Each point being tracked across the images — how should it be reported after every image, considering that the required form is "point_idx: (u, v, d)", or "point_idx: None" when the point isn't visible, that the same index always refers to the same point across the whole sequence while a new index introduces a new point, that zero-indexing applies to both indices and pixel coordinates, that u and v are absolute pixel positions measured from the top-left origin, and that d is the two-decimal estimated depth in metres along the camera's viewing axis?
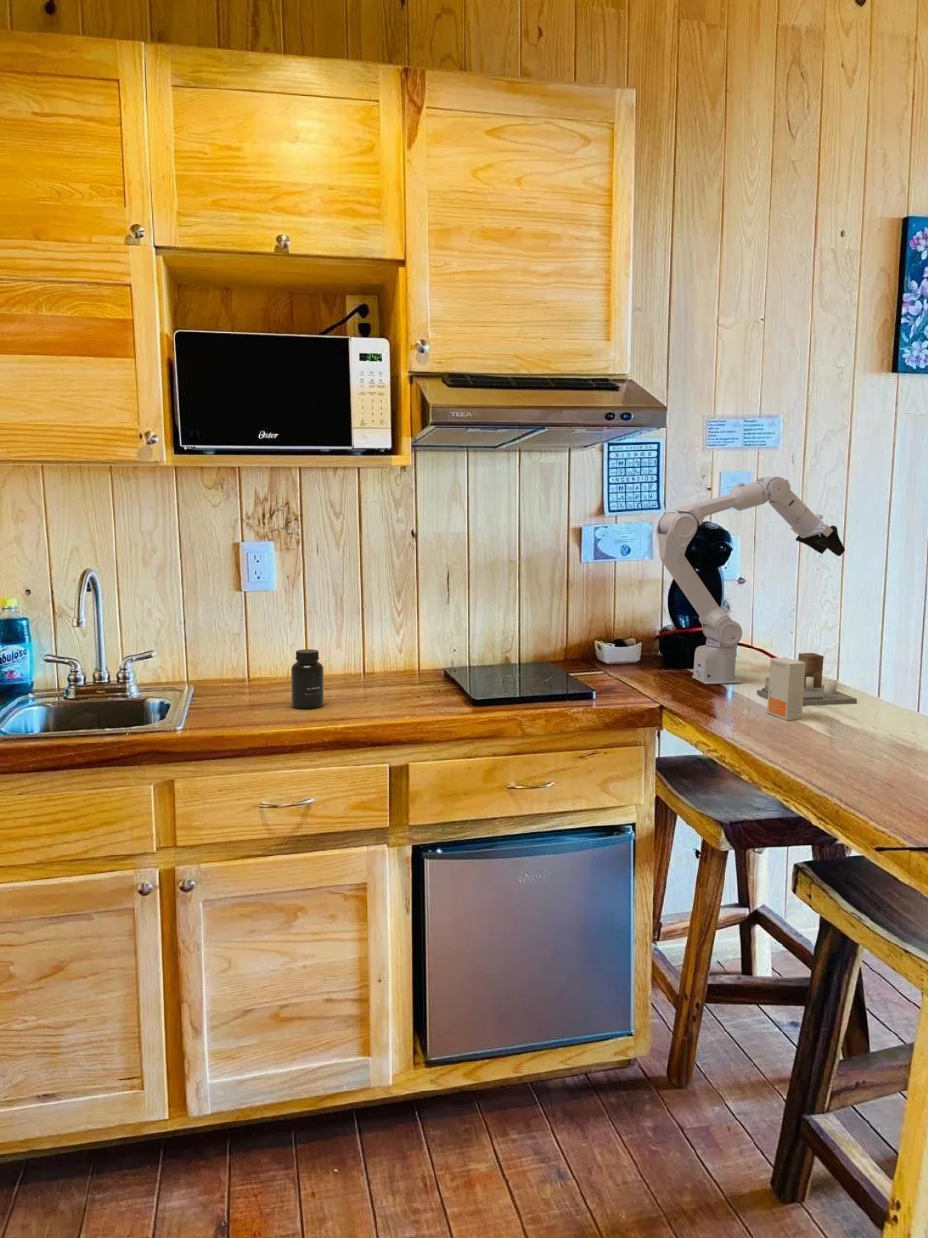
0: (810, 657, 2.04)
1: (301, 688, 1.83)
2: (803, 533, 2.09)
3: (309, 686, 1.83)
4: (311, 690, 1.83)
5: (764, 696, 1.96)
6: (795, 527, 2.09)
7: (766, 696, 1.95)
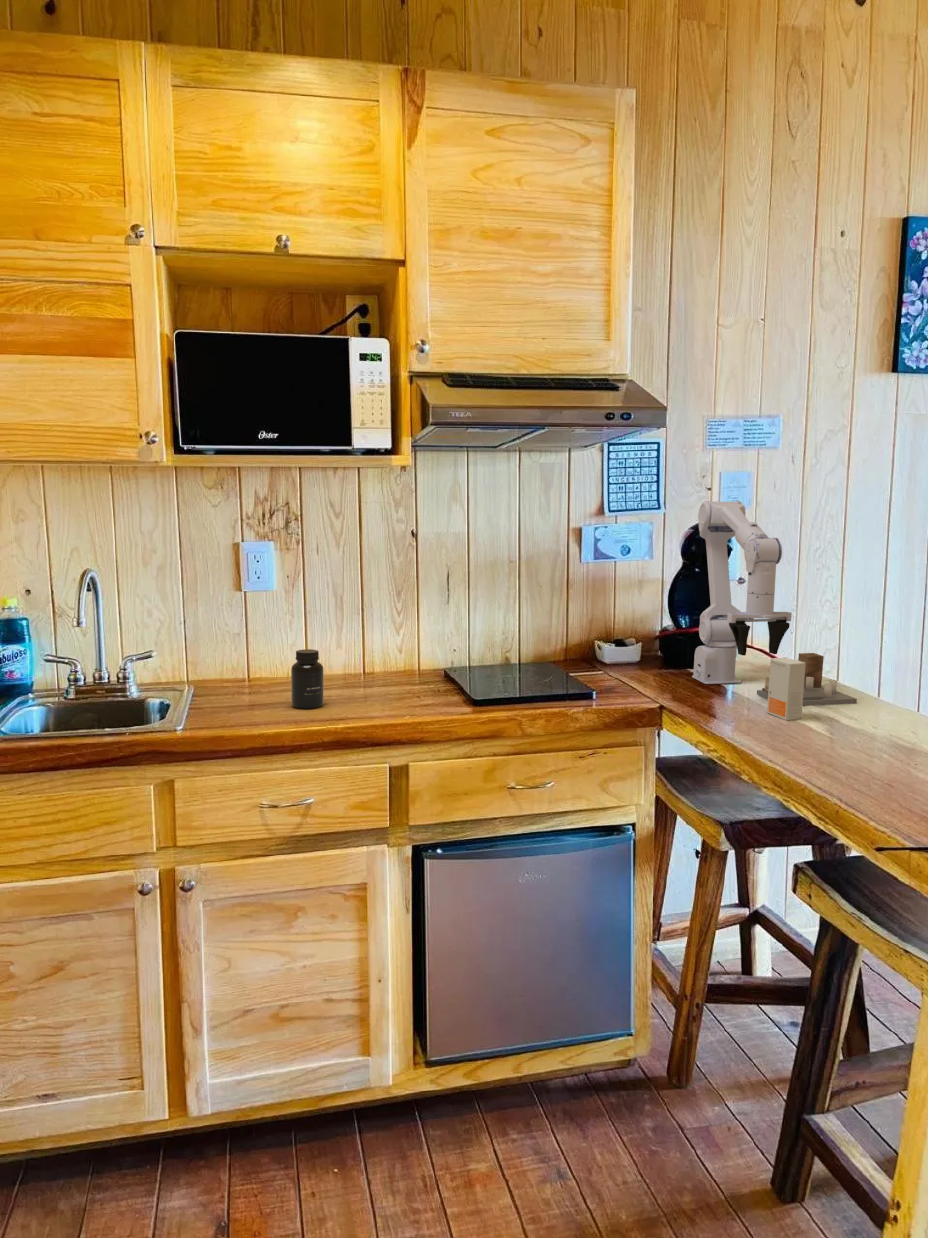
0: (810, 657, 2.04)
1: (301, 688, 1.83)
2: None
3: (309, 686, 1.83)
4: (311, 690, 1.83)
5: (764, 696, 1.96)
6: None
7: (766, 696, 1.95)
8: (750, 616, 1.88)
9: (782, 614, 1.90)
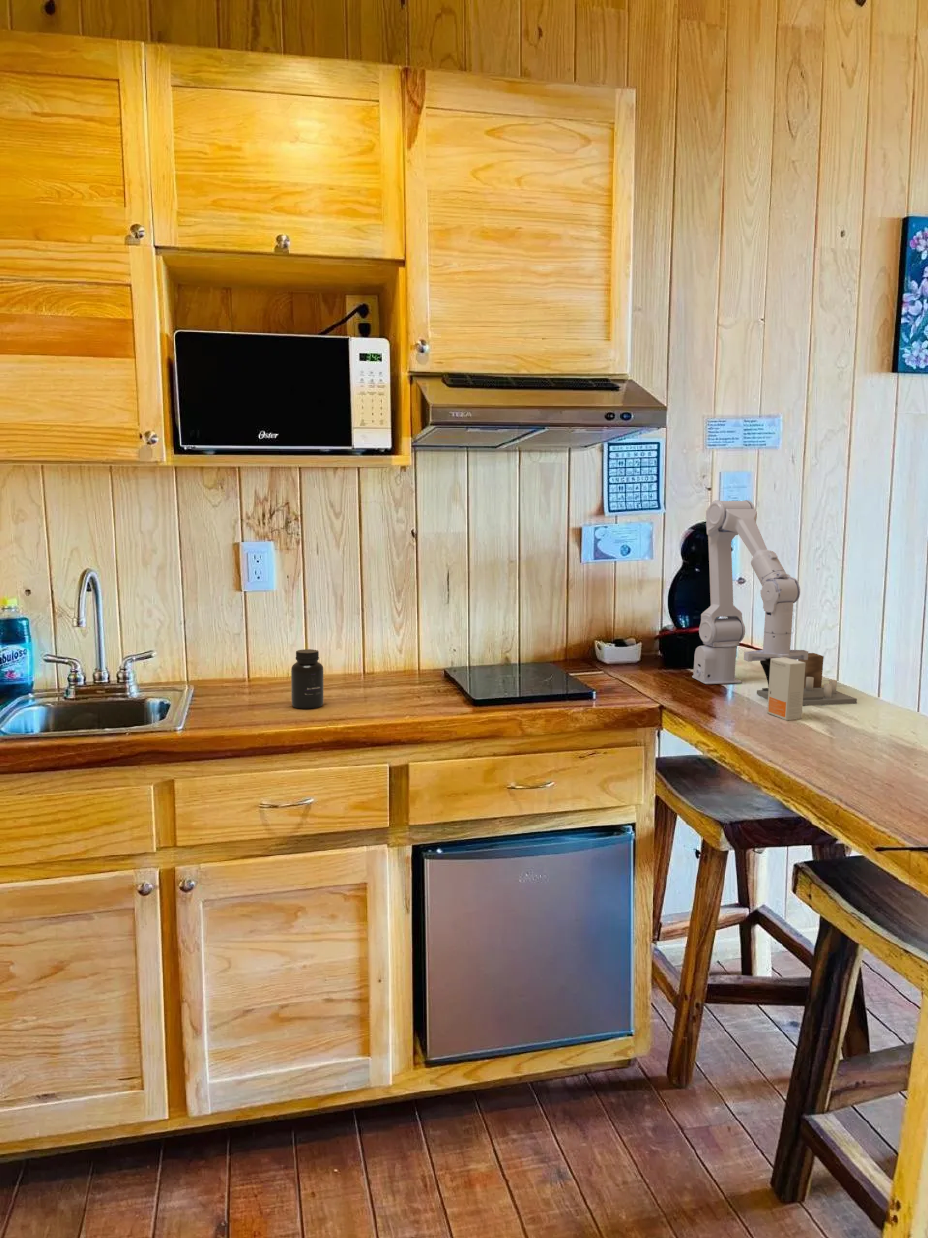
0: (810, 657, 2.04)
1: (301, 688, 1.83)
2: None
3: (309, 686, 1.83)
4: (311, 690, 1.83)
5: (764, 696, 1.96)
6: None
7: (766, 696, 1.95)
8: (766, 655, 1.90)
9: (799, 653, 1.92)
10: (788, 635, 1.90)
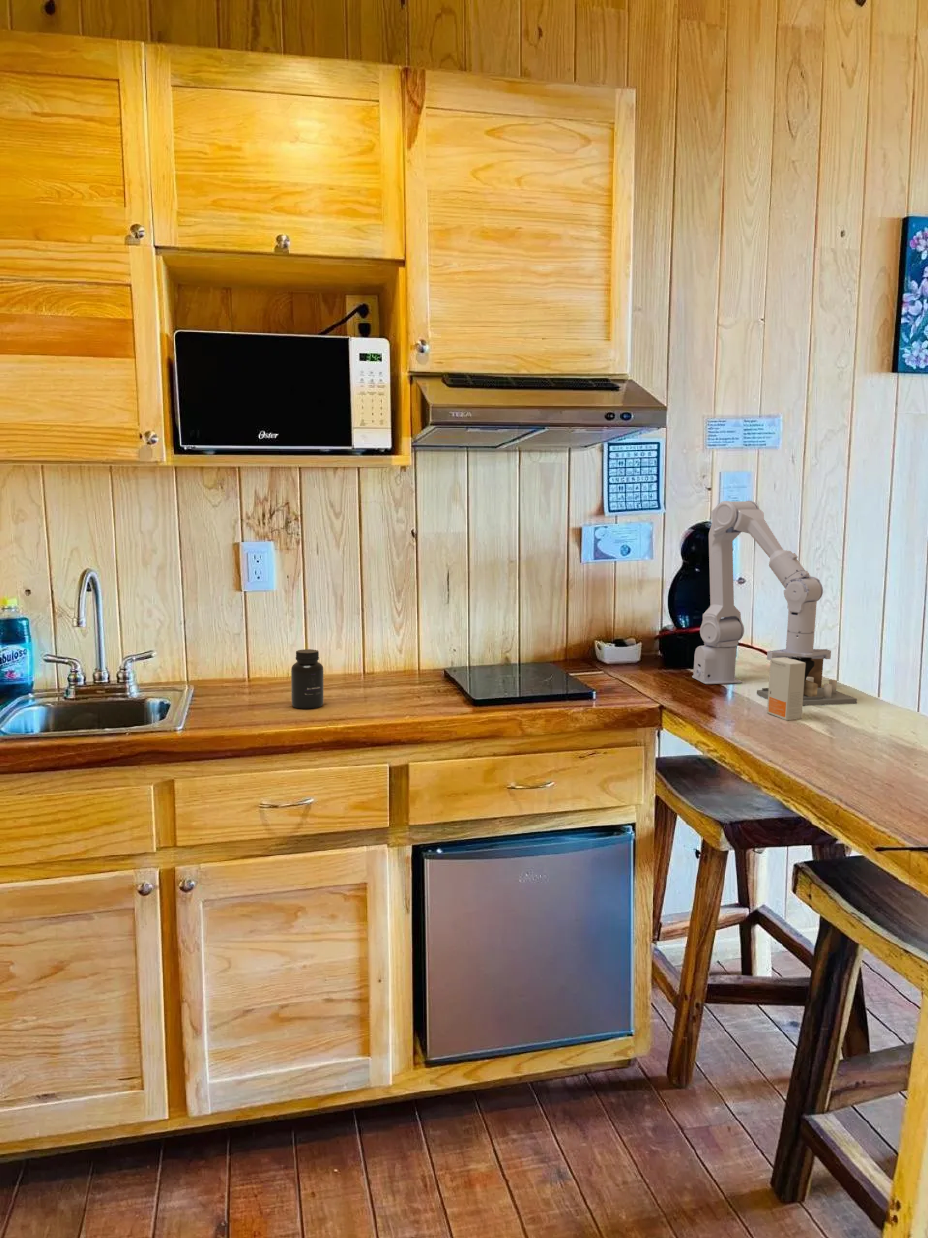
0: None
1: (301, 688, 1.83)
2: None
3: (309, 686, 1.83)
4: (311, 690, 1.83)
5: (764, 696, 1.96)
6: None
7: (766, 696, 1.95)
8: (790, 654, 1.91)
9: (822, 652, 1.93)
10: (811, 634, 1.91)
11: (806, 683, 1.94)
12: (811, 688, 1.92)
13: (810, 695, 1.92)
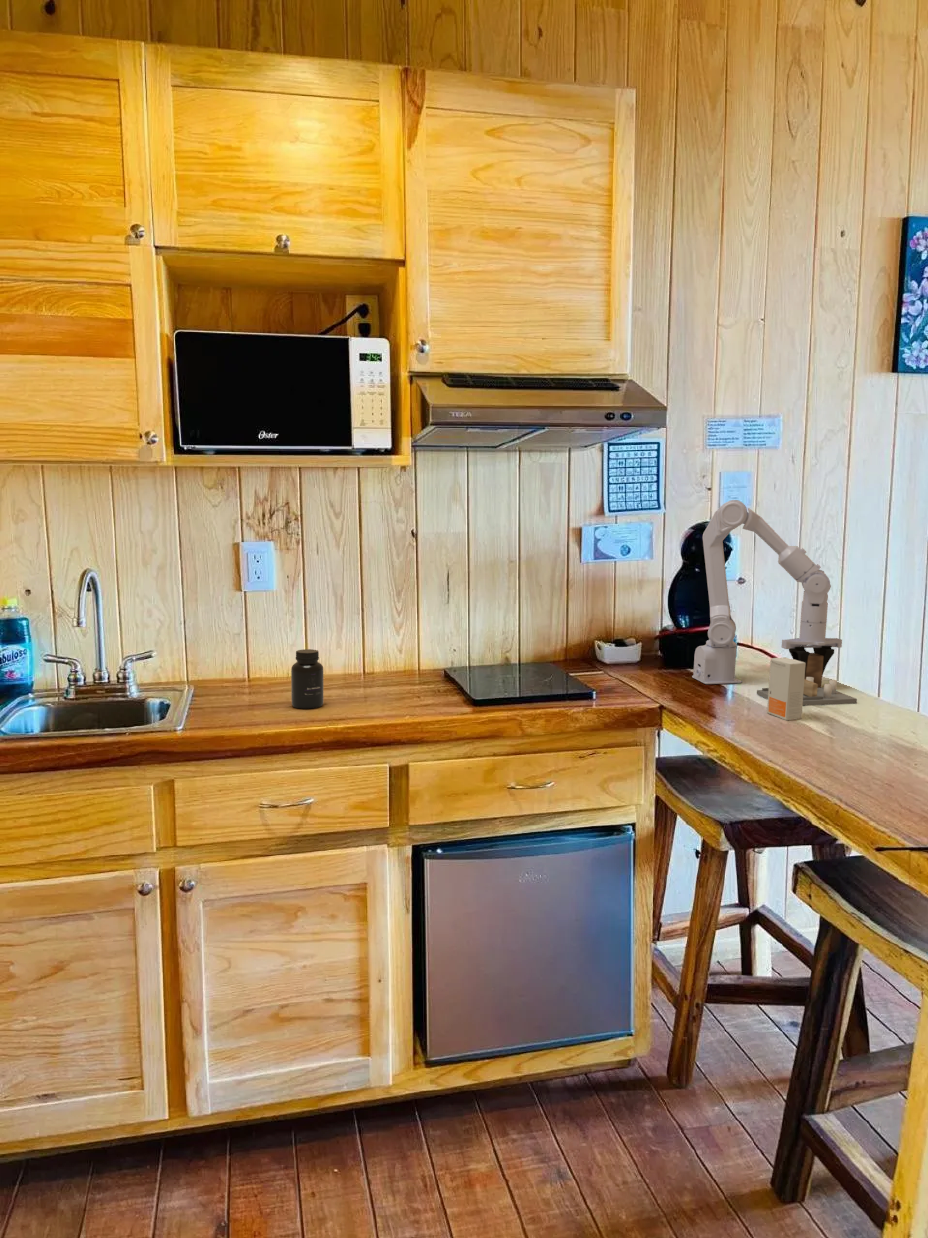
0: (810, 657, 2.04)
1: (301, 688, 1.83)
2: None
3: (309, 686, 1.83)
4: (311, 690, 1.83)
5: (764, 696, 1.96)
6: None
7: (766, 696, 1.95)
8: (803, 643, 2.03)
9: (833, 641, 2.04)
10: (824, 624, 2.02)
11: (806, 683, 1.94)
12: (811, 688, 1.92)
13: (810, 695, 1.92)
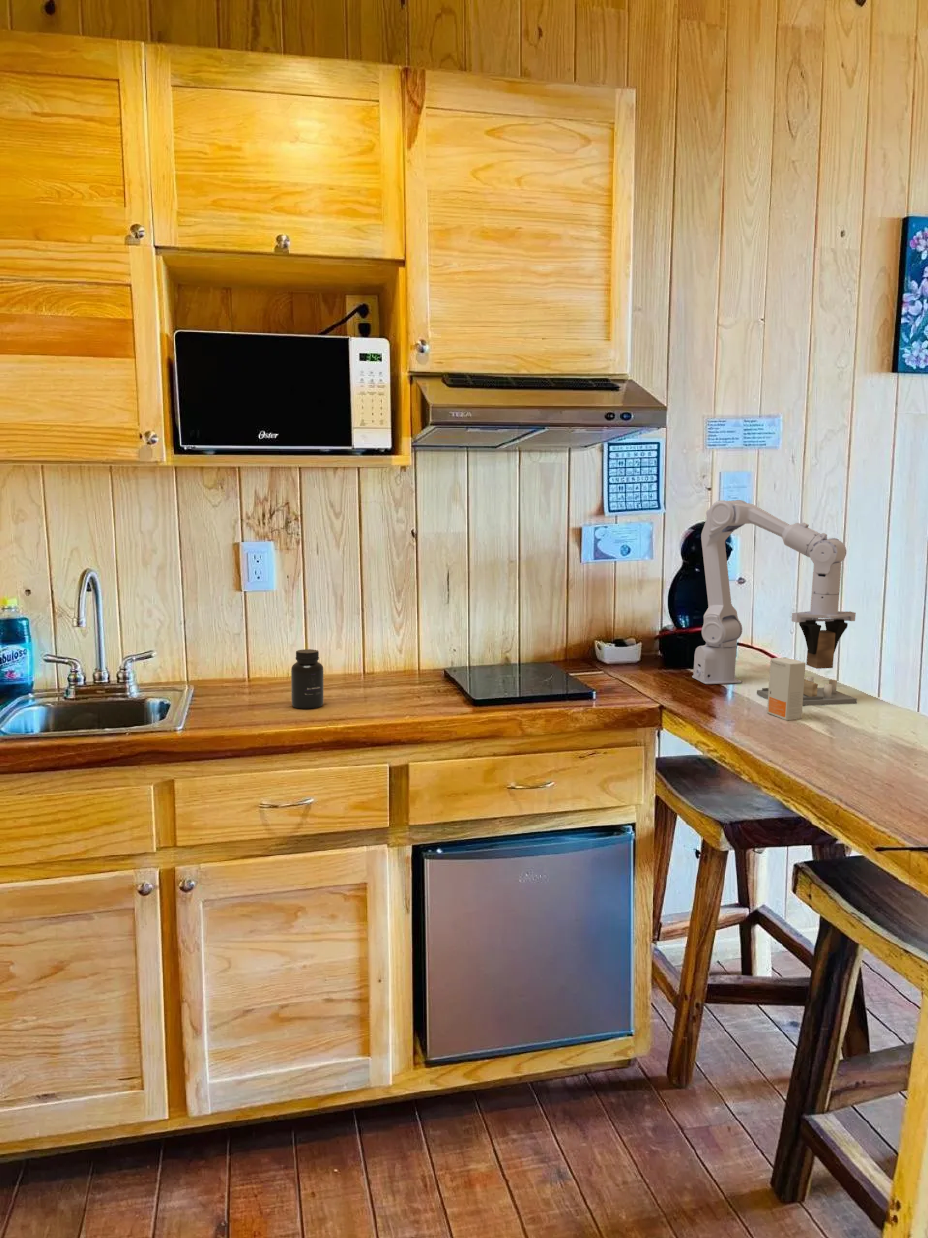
0: (821, 634, 1.92)
1: (301, 688, 1.83)
2: None
3: (309, 686, 1.83)
4: (311, 690, 1.83)
5: (764, 696, 1.96)
6: None
7: (766, 696, 1.95)
8: (815, 616, 1.91)
9: (846, 614, 1.93)
10: (836, 596, 1.91)
11: (806, 683, 1.94)
12: (811, 688, 1.92)
13: (810, 695, 1.92)
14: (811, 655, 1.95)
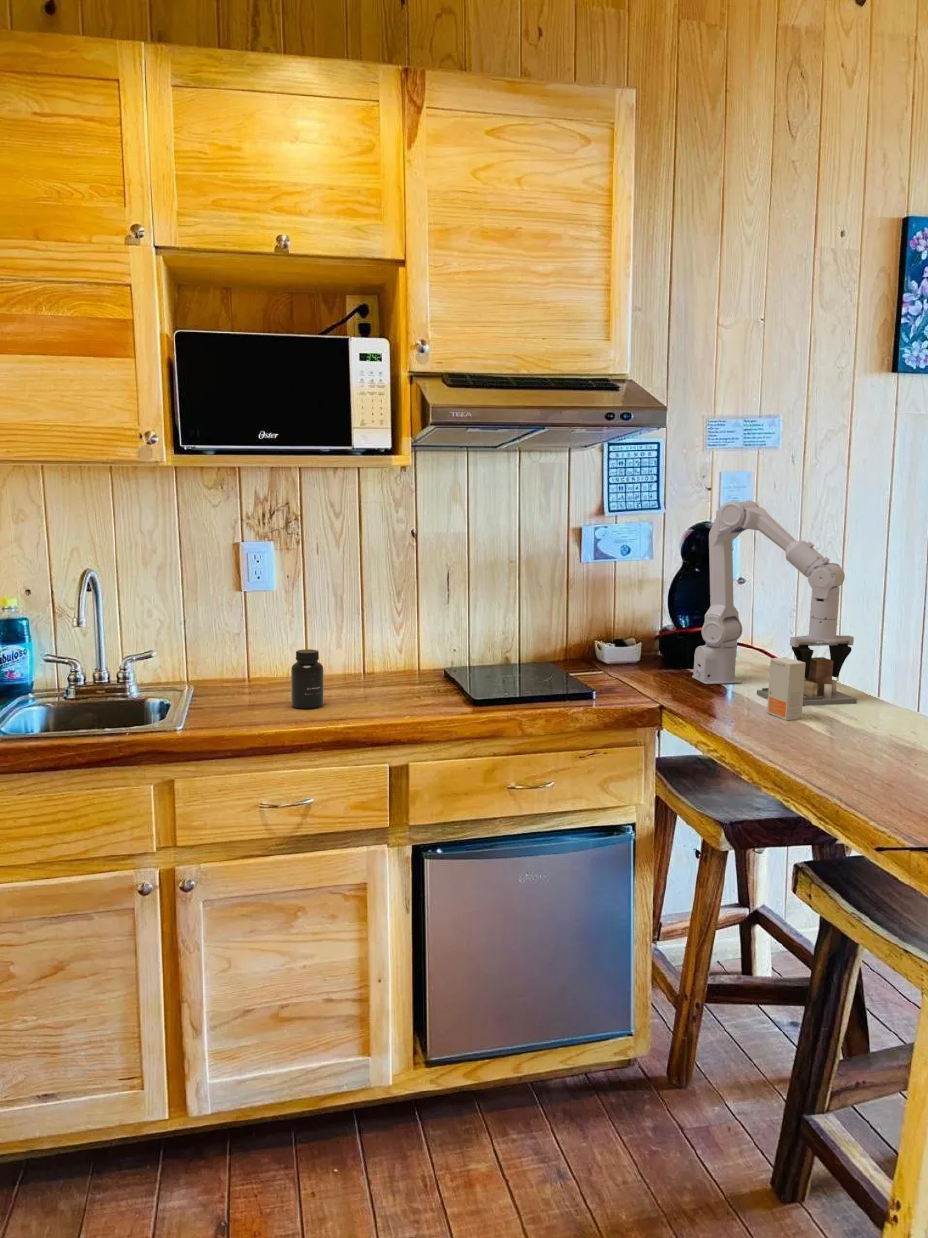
0: (819, 662, 1.93)
1: (301, 688, 1.83)
2: None
3: (309, 686, 1.83)
4: (311, 690, 1.83)
5: (764, 696, 1.96)
6: None
7: (766, 696, 1.95)
8: (813, 640, 1.92)
9: (844, 638, 1.94)
10: (834, 620, 1.91)
11: (806, 683, 1.94)
12: (811, 688, 1.92)
13: (810, 695, 1.92)
14: None
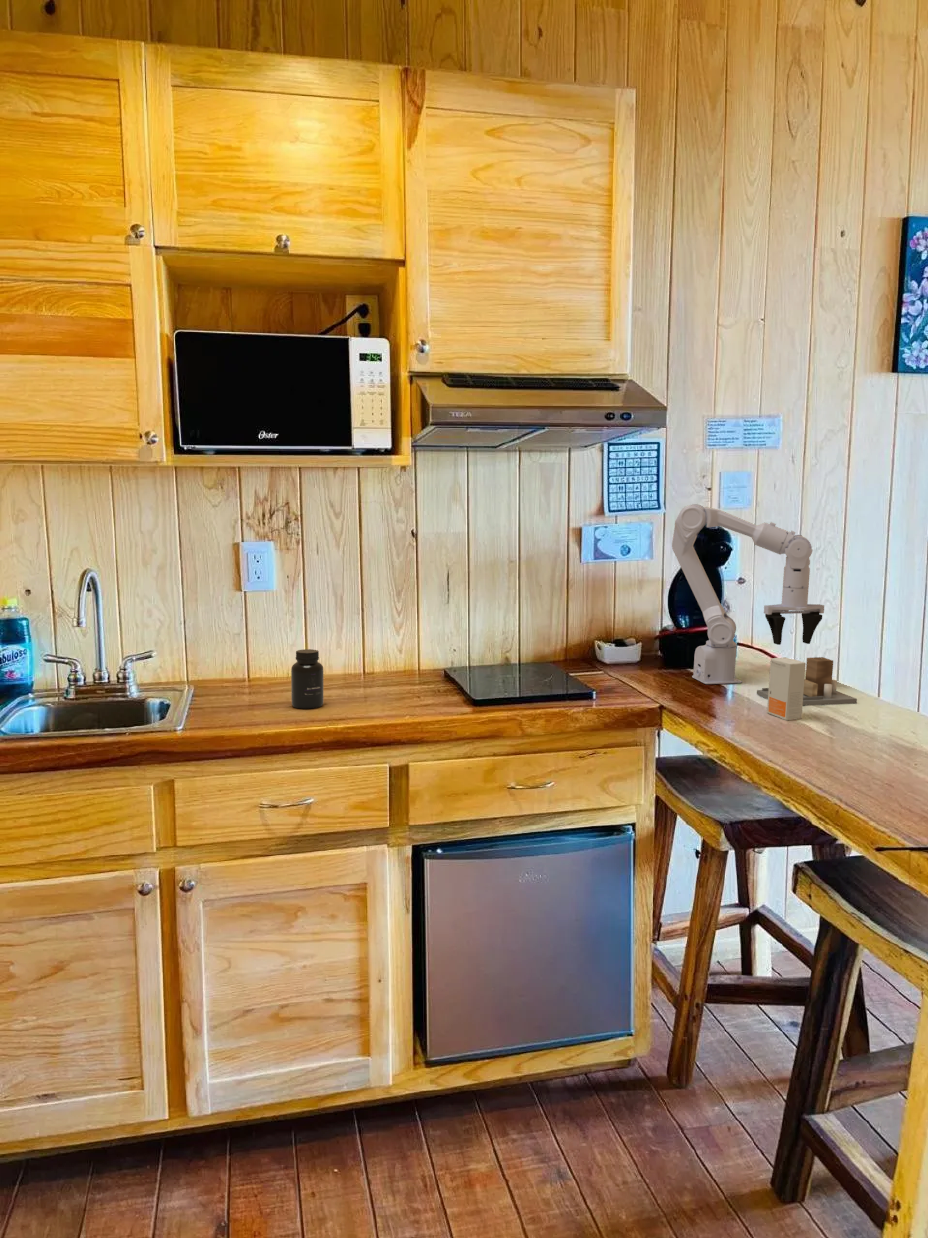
0: (819, 662, 1.93)
1: (301, 688, 1.83)
2: None
3: (309, 686, 1.83)
4: (311, 690, 1.83)
5: (764, 696, 1.96)
6: None
7: (766, 696, 1.95)
8: (785, 608, 2.03)
9: (815, 606, 2.04)
10: (806, 589, 2.02)
11: (806, 683, 1.94)
12: (811, 688, 1.92)
13: (810, 695, 1.92)
14: None
